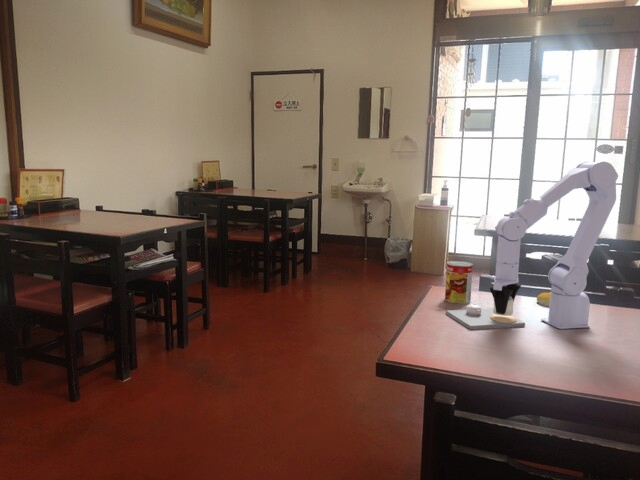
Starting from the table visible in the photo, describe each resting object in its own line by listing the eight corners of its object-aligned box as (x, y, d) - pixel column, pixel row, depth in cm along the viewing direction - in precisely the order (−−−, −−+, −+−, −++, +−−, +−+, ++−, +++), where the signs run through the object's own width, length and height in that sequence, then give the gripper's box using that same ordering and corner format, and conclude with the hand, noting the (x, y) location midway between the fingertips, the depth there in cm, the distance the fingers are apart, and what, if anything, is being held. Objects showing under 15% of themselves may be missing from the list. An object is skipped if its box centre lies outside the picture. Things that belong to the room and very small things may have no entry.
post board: (495, 311, 146) (496, 301, 145) (524, 326, 132) (525, 315, 132) (445, 313, 142) (446, 303, 142) (470, 329, 129) (471, 318, 128)
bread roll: (531, 302, 157) (532, 290, 157) (553, 300, 160) (554, 288, 160) (550, 309, 150) (551, 296, 149) (573, 307, 152) (575, 294, 152)
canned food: (446, 296, 162) (448, 260, 160) (471, 298, 159) (473, 262, 158) (443, 302, 155) (445, 264, 153) (469, 304, 152) (472, 266, 150)
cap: (516, 313, 135) (516, 296, 134) (507, 316, 131) (507, 299, 131) (499, 309, 138) (499, 292, 138) (489, 313, 135) (490, 295, 134)
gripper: (501, 256, 141) (497, 303, 143) (483, 264, 129) (479, 314, 131) (527, 259, 136) (523, 307, 138) (510, 267, 125) (506, 319, 127)
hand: (503, 311), depth 135 cm, fingers closed on cap, 5 cm apart
